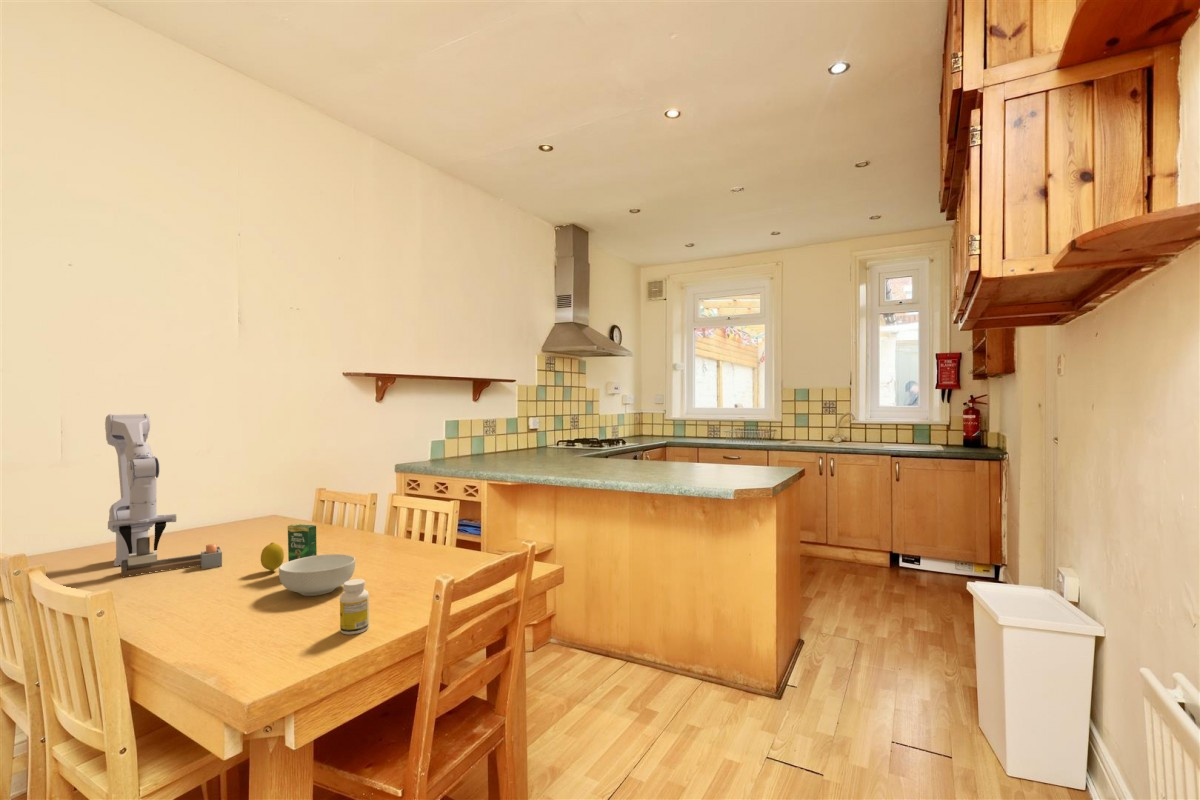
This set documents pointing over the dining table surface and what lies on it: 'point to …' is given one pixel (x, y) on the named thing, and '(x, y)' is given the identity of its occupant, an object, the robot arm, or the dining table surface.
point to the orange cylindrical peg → (211, 548)
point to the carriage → (143, 553)
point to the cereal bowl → (316, 573)
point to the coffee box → (301, 541)
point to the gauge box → (211, 559)
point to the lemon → (272, 556)
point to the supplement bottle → (354, 607)
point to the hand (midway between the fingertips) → (143, 551)
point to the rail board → (160, 565)
